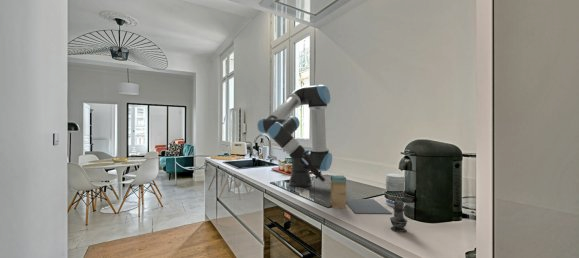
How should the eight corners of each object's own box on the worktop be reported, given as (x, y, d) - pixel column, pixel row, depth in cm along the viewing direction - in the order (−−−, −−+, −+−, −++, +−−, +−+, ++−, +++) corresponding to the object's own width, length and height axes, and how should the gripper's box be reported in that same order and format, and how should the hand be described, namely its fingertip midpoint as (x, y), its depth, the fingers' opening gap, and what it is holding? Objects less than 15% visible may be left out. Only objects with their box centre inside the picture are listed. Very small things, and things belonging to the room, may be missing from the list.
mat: (342, 199, 127) (342, 198, 127) (373, 199, 127) (373, 199, 127) (354, 213, 105) (354, 212, 105) (391, 213, 105) (391, 213, 105)
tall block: (330, 204, 119) (330, 175, 119) (342, 204, 119) (342, 175, 119) (332, 207, 113) (333, 177, 113) (345, 208, 113) (346, 177, 113)
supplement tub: (392, 201, 125) (392, 172, 125) (410, 205, 118) (411, 175, 118) (382, 204, 119) (382, 174, 119) (401, 209, 112) (401, 177, 112)
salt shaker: (392, 225, 92) (392, 193, 92) (409, 229, 88) (409, 196, 89) (387, 230, 88) (387, 196, 88) (405, 234, 84) (405, 199, 84)
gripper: (288, 153, 122) (321, 187, 122) (288, 156, 109) (325, 194, 109) (299, 143, 122) (331, 177, 122) (300, 144, 109) (337, 182, 109)
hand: (328, 185), depth 115 cm, fingers closed
